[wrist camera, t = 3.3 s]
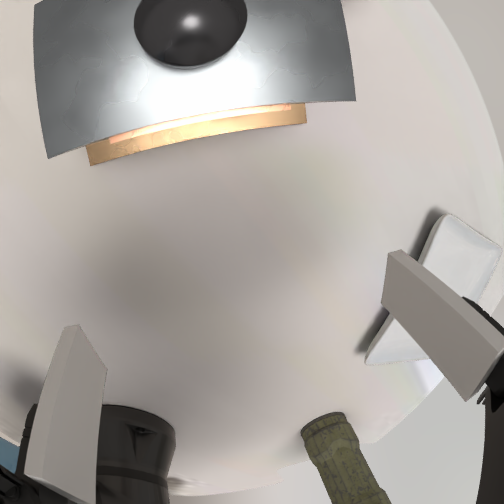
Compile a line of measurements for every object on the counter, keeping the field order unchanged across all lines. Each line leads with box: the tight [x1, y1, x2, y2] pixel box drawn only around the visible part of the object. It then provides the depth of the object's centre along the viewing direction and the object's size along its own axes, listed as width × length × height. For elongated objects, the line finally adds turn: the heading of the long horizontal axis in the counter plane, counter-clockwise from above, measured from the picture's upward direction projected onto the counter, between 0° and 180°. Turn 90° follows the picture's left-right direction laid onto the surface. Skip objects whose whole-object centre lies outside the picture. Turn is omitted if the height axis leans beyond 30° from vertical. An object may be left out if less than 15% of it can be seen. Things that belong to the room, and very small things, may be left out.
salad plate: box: [365, 214, 502, 365], centre depth 33 cm, size 21×21×3 cm
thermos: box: [301, 412, 391, 504], centre depth 28 cm, size 9×12×35 cm
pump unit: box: [33, 0, 356, 166], centre depth 11 cm, size 16×10×12 cm, turn 97°
